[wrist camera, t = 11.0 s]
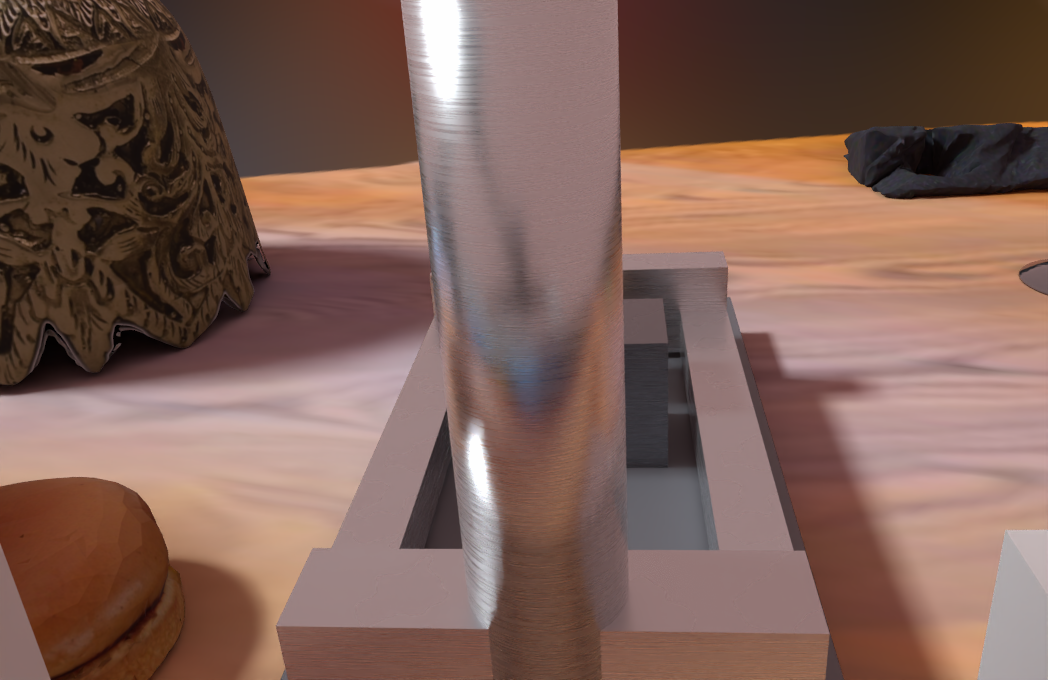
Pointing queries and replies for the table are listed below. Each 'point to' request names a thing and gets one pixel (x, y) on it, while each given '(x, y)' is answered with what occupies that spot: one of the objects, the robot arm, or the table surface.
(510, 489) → the press ram
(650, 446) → the grey rectangular block
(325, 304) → the table surface
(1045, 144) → the black crumpled cloth
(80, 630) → the burger
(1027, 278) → the wine glass
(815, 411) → the table surface
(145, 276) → the lamp shade
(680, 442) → the press bench
